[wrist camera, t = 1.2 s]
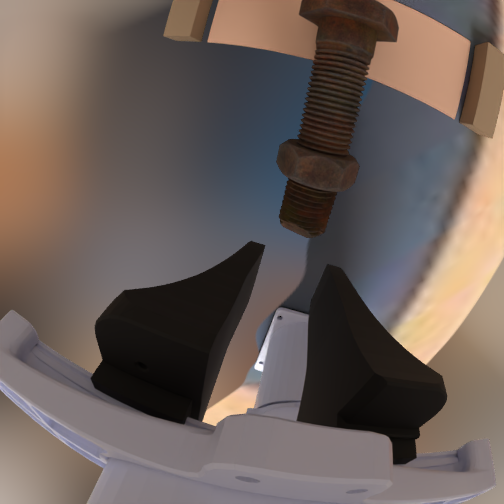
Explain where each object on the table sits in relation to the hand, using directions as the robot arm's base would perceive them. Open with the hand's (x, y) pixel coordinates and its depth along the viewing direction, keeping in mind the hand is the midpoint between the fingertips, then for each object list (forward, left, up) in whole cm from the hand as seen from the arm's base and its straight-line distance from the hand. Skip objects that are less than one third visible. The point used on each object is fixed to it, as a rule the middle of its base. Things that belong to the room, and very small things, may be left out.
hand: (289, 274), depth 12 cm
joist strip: (+14, 0, -9) cm, 16 cm away
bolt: (+7, 0, -10) cm, 12 cm away
